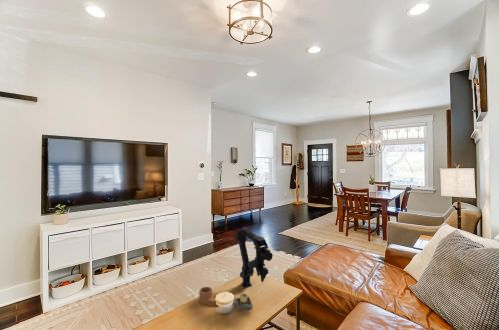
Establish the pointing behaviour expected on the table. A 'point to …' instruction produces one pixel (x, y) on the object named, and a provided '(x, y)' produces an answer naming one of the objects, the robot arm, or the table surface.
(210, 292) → the bracket
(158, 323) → the table surface
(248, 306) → the bearing block
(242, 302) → the brass spacer
